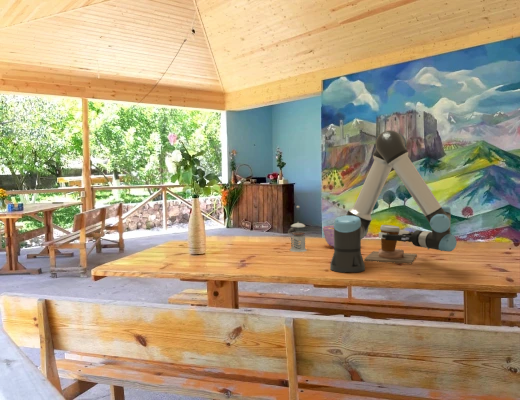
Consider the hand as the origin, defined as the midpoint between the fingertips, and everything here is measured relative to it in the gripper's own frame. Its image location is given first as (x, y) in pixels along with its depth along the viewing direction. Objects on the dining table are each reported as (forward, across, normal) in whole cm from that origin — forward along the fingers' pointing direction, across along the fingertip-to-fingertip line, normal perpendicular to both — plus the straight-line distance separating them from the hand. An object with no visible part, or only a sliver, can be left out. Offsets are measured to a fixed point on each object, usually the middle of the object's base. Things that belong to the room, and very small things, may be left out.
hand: (389, 233), depth 223 cm
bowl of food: (+38, -1, -12) cm, 40 cm away
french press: (+44, -26, -12) cm, 53 cm away
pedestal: (-1, 0, -12) cm, 12 cm away
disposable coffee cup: (-2, -3, -8) cm, 9 cm away
